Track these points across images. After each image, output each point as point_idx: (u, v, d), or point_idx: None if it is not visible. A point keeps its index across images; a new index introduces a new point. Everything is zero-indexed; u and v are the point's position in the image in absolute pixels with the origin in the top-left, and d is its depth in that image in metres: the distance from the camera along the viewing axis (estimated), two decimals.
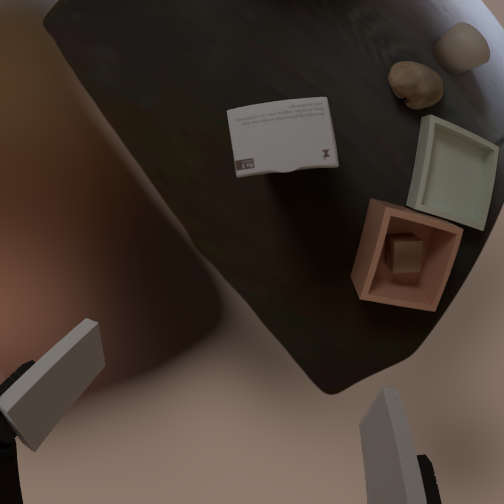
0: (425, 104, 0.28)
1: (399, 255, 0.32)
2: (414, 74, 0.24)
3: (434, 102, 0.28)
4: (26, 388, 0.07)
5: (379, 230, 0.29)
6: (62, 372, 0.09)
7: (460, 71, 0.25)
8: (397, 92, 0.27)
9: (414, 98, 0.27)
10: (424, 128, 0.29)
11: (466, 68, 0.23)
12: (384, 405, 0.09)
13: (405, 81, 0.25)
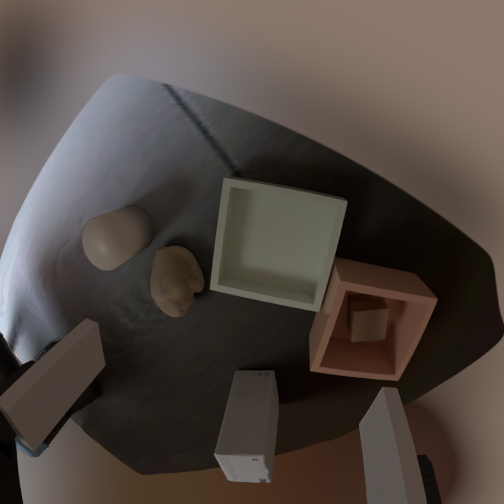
0: (195, 273, 0.34)
1: (366, 335, 0.29)
2: (163, 302, 0.32)
3: (191, 258, 0.34)
4: (26, 388, 0.07)
5: None
6: (62, 372, 0.09)
7: (145, 229, 0.32)
8: None
9: (191, 294, 0.33)
10: None
11: (138, 233, 0.31)
12: (384, 405, 0.09)
13: (174, 311, 0.32)
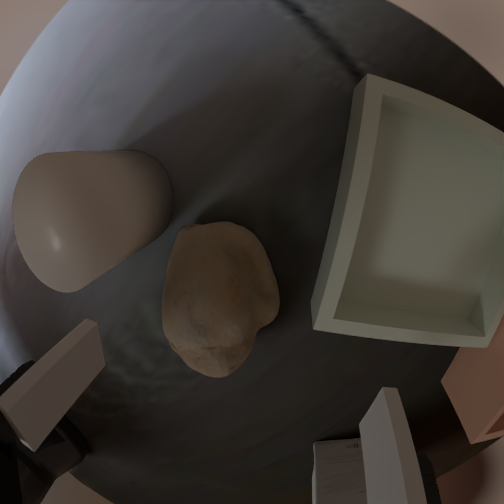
0: (267, 285, 0.15)
1: None
2: (195, 353, 0.13)
3: (259, 252, 0.15)
4: (26, 388, 0.07)
5: None
6: (62, 372, 0.09)
7: (158, 194, 0.14)
8: (243, 360, 0.16)
9: (256, 332, 0.15)
10: None
11: (141, 200, 0.12)
12: (384, 405, 0.09)
13: (218, 369, 0.14)
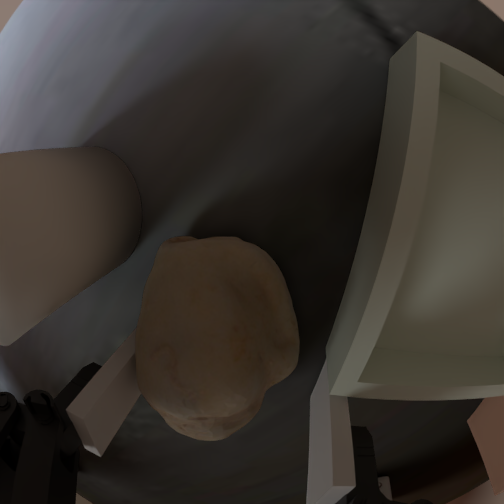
0: (285, 330, 0.10)
1: None
2: (180, 420, 0.09)
3: (276, 283, 0.10)
4: (99, 392, 0.08)
5: None
6: (130, 372, 0.10)
7: (116, 207, 0.10)
8: None
9: None
10: None
11: (85, 218, 0.08)
12: (326, 374, 0.11)
13: (211, 437, 0.09)
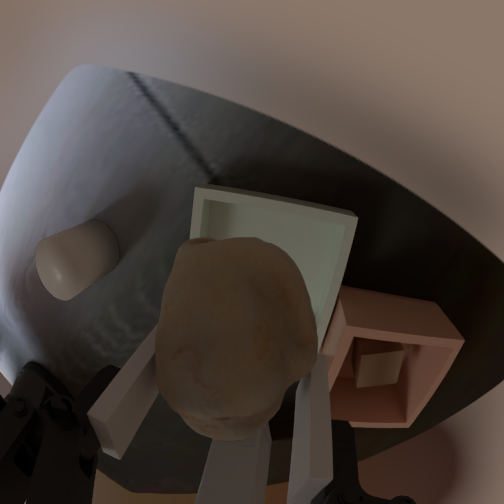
0: (304, 328, 0.10)
1: (375, 380, 0.23)
2: (202, 421, 0.09)
3: (296, 282, 0.10)
4: (120, 394, 0.08)
5: None
6: (148, 374, 0.10)
7: (108, 250, 0.26)
8: None
9: None
10: None
11: (97, 256, 0.24)
12: None
13: (232, 437, 0.09)
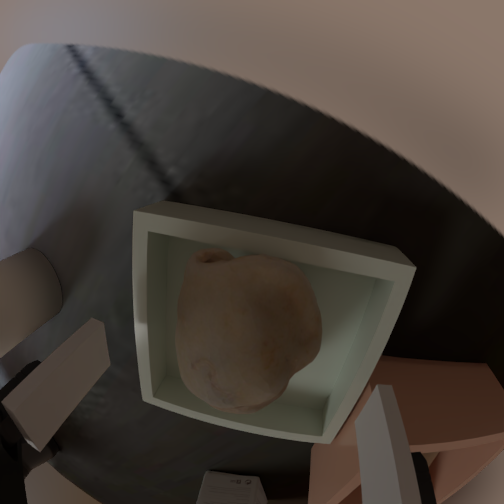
0: (309, 327, 0.11)
1: None
2: (220, 407, 0.11)
3: (302, 290, 0.11)
4: (32, 388, 0.07)
5: None
6: (68, 372, 0.09)
7: (43, 291, 0.16)
8: None
9: (291, 376, 0.12)
10: None
11: (27, 302, 0.15)
12: (379, 402, 0.10)
13: None
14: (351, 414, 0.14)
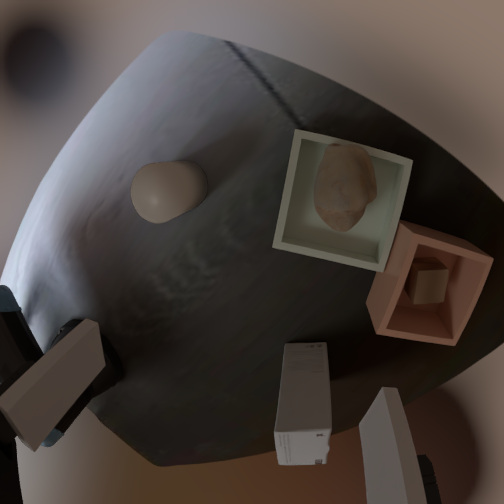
0: (372, 180, 0.26)
1: (427, 297, 0.27)
2: (339, 214, 0.25)
3: (370, 162, 0.25)
4: (26, 388, 0.07)
5: None
6: (62, 372, 0.09)
7: (201, 183, 0.31)
8: None
9: (366, 205, 0.26)
10: None
11: (195, 185, 0.29)
12: (384, 405, 0.09)
13: (347, 225, 0.26)
14: (393, 246, 0.28)
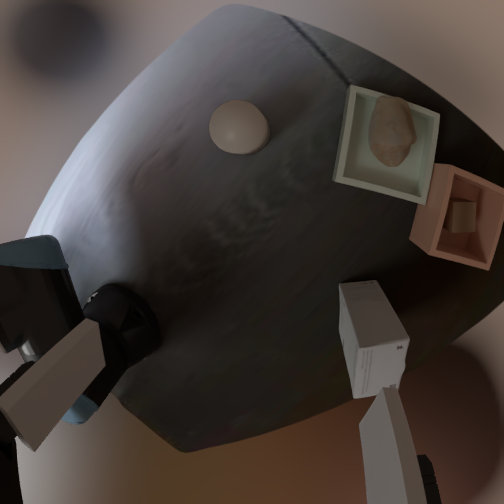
0: (413, 127, 0.28)
1: (462, 226, 0.30)
2: (393, 148, 0.27)
3: (410, 112, 0.27)
4: (26, 388, 0.07)
5: None
6: (62, 372, 0.09)
7: (268, 127, 0.33)
8: None
9: (410, 145, 0.28)
10: None
11: (267, 125, 0.31)
12: (384, 405, 0.09)
13: (398, 159, 0.28)
14: (431, 183, 0.31)
